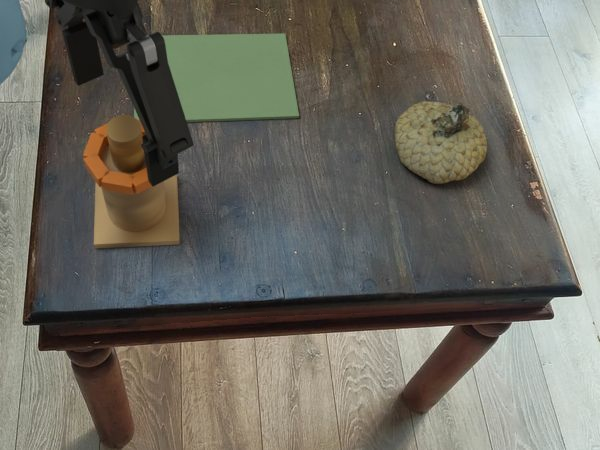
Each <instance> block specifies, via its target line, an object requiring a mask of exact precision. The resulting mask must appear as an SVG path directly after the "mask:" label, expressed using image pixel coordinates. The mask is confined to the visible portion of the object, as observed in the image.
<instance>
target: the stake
mask: <svg viewBox="0 0 600 450" xmlns="http://www.w3.org/2000/svg"><path fill="white" fill-rule="evenodd" d="M107 123H108V124H107ZM107 123H106V124H107V127H106V132H107V137H108V142H109V144H108V145H106V147H105V149H104V152H103V155H102V158H101V160H102V162H103V163H104V164H105V166H106V167H107V169H108V170H109V171H113V172H119V173H124V174H129V175H132V174H134V173H136V172H138V171H140V170H142V169H144V168H146V161H145V154H144V150H143V148H142V147H141V144H143V140H142V129H141V124H140V122H139V121H138V120H137V119H136V118H134V115H133V116H132V115H129V114H119V115H116V116H114V117H112V118H111V119H110V120H109V121H108V122H107ZM94 184H95V186H94V187H95V188H94V189H95V190H94V217H93V218H94V221H93V247H94V249H112V248H113V249H115V248H136V247H153V246H154V247H155V246H157V247H158V246H174V245H175V246H176V245H177V246H178V245H180V240H181V239H180V220H179V219H180V215H179V190H178V189H179V188H178V174H177V175H175V176H173V177H171V178H169V179H167V180H165V181H163V182H161V183H159V184H157V185H155V186H152V187H150V188H148V189H146V190H144V191H142V192H140V193H138V194H136V193H135V191H134V192H133V195H131V194H125V193H120V192H114V191H109V190H103V187H99V186H98V184H97V183H96V182H95V183H94Z"/></svg>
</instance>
